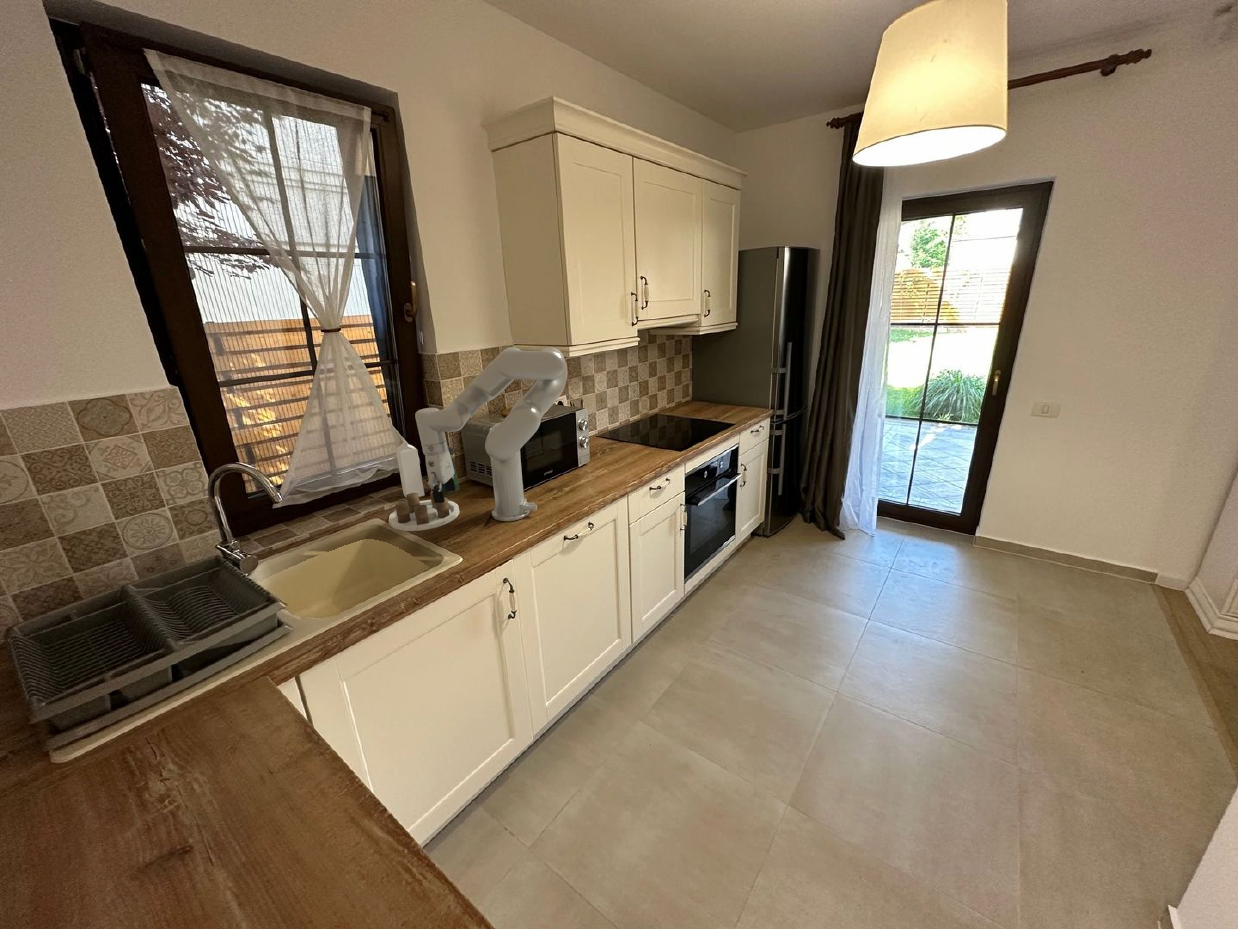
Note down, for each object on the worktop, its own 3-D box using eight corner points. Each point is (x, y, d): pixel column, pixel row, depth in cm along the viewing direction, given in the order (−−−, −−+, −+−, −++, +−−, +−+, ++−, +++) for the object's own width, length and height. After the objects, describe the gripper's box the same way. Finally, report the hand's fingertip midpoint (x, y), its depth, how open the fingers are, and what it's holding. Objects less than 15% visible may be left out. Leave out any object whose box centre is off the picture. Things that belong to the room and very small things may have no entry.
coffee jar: (463, 491, 185) (456, 444, 179) (444, 497, 179) (436, 449, 173) (449, 485, 191) (443, 440, 185) (431, 491, 185) (423, 444, 179)
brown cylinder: (445, 506, 169) (443, 490, 168) (441, 510, 166) (439, 494, 164) (435, 505, 170) (432, 490, 168) (430, 510, 166) (428, 494, 164)
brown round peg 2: (431, 521, 158) (428, 504, 156) (426, 526, 154) (423, 509, 152) (419, 521, 158) (417, 504, 156) (414, 526, 154) (411, 509, 152)
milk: (408, 502, 176) (397, 444, 169) (403, 497, 181) (393, 440, 173) (425, 497, 179) (415, 440, 172) (420, 492, 184) (411, 437, 177)
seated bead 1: (422, 508, 168) (420, 492, 166) (417, 513, 164) (415, 497, 162) (411, 508, 168) (409, 492, 166) (406, 513, 164) (404, 497, 162)
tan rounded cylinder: (451, 513, 163) (449, 497, 161) (447, 518, 160) (444, 501, 158) (440, 513, 164) (438, 497, 162) (436, 518, 160) (433, 501, 158)
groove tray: (468, 505, 172) (468, 499, 171) (445, 533, 151) (444, 527, 151) (408, 505, 173) (407, 499, 173) (376, 533, 153) (375, 527, 152)
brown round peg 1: (412, 518, 160) (409, 501, 158) (407, 523, 157) (404, 506, 155) (401, 518, 161) (398, 501, 159) (396, 523, 157) (393, 506, 155)
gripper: (435, 455, 145) (446, 506, 151) (456, 438, 162) (465, 485, 167) (411, 456, 146) (423, 508, 152) (434, 439, 162) (444, 487, 168)
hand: (445, 496), depth 160 cm, fingers open, 9 cm apart
